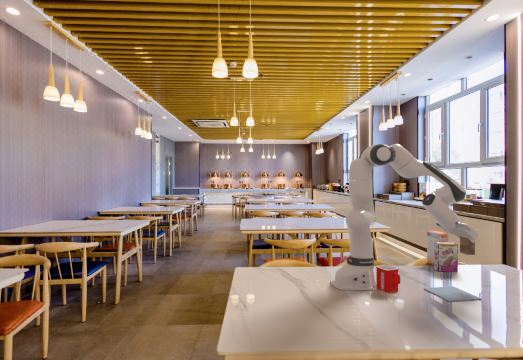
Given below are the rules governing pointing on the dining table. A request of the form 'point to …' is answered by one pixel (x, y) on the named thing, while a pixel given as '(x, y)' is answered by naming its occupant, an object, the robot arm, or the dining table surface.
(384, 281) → the mug
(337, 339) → the dining table surface
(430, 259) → the cracker box
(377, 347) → the dining table surface
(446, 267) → the candy bar box
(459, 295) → the rubber mat
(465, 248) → the walnut block
